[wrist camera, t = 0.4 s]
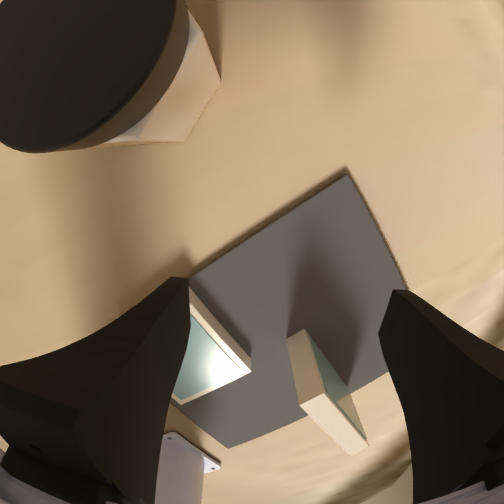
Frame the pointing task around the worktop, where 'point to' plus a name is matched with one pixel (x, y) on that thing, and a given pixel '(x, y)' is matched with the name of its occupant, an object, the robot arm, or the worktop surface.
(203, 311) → the tile
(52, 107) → the jar
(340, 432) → the tile
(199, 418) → the mat
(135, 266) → the worktop surface
